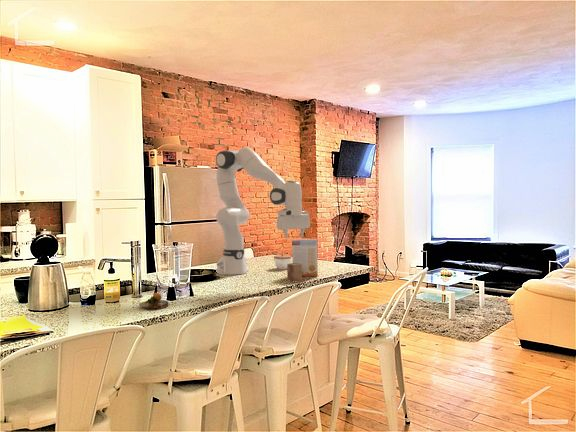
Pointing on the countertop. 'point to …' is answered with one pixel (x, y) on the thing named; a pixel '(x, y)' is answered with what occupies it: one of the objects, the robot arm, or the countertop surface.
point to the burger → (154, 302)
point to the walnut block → (294, 272)
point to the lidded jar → (282, 261)
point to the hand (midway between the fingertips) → (294, 237)
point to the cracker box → (305, 255)
